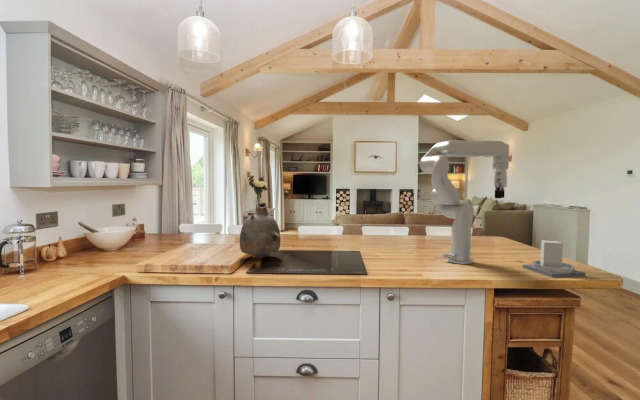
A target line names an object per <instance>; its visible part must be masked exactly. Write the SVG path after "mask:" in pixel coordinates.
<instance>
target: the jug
mask: <svg viewBox="0 0 640 400" xmlns="http://www.w3.org/2000/svg"><path fill="white" fill-rule="evenodd" d="M280 247H281V230H280V228H279V225H278V223H277V221H276V219H275V218H274V217H273V216H271V215H269V213H268V207H267V203H266V202H262V203H258V204H257V210H256V213H254V214H251V215H249V216H248V217H247V218H246V219H245V220H244V222H243V223H242V226H241V230H240V235H239V249H240V251H241V253H244V254H247V255H250V256H254V257H255V258H257V259H263V258H265V257H267V256H269V255H271V254H275V253H276V252H278V251H279V250H280Z"/></svg>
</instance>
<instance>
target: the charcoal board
mask: <svg viewBox="0 0 640 400" xmlns="http://www.w3.org/2000/svg"><path fill="white" fill-rule="evenodd" d="M562 268H564V267H562ZM522 269H525V270H528V271H531V272H534V273H538V274H540V275H543V276H546V277H549V278H569V277H571V278H573V277H574V276H576V277H586V272H584V271H580V270H577V269H575V272H573V273H555V272H547V271H543V270H539V269H536V268H534V267H532V263H531V264H522Z"/></svg>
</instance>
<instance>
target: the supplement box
mask: <svg viewBox="0 0 640 400" xmlns="http://www.w3.org/2000/svg"><path fill="white" fill-rule="evenodd" d="M563 245H564V244H563V242H561V241H560V240H543V239H542V240H541V242H540V260H541V262H540V265H542V266H547V267H554V268H562V263H563V248H564V247H563Z"/></svg>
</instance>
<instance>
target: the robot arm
mask: <svg viewBox="0 0 640 400" xmlns="http://www.w3.org/2000/svg"><path fill="white" fill-rule="evenodd" d="M477 157H483V158H491V157H492V170H494V183H493V184H494V187H495V188H494V190H495V191H494V199H504V198H505V192H506V191H505V188H507V186H508V180H507V179H508V175H507V174H508V173H507V171H508V170H509V163H510V161H509V160H510V145H509V144H508V143H505V142H504V141H502V140H461V139H460V140H459V139H448V140H443V141H438V142H437V143H435V144H434V145H433V146H432V147H431V148H430V149H429V150H428V151H427V152H426V153H425V154H424V155H423V156H422V158H421V159H420V161H419V167H420V170H421V171H423V172H424V173H431V178H430V179H431V180H430V181H431V186H432V190H431V192H430V199H431V201H432V204H434V206H435V207H436V208H437V210H439V211H440V214H442V215H443V216H444V217H446V218H448V219H454V220H453V223H452V225H451V240H450V241H451V242H450V243H451V244H450V247H451V248H450V251H449V253H447V254H446V253H445V254H443V253H442V255H441V257H442V259H446V258H447V261H448V262H450V263H451V264H452V263H453V264H459V265H471V264H474V262H475V261H474V259H472V258H471V257H472V256H471V254H472V252H471V251H472V223H473V220H474V219H473V218H474V215H475V209H474V206H473V205H472V204H471V203H470V202H469V201H468V202H467V201H462V200H461V194H460V193H459V191H458V189H457V188H456V187H455V186H454V184H453V183H452V181H451V180H450V179H449V176H448V175H449V174H448V172H449V167H450V161H449V159H448V158H477Z"/></svg>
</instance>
